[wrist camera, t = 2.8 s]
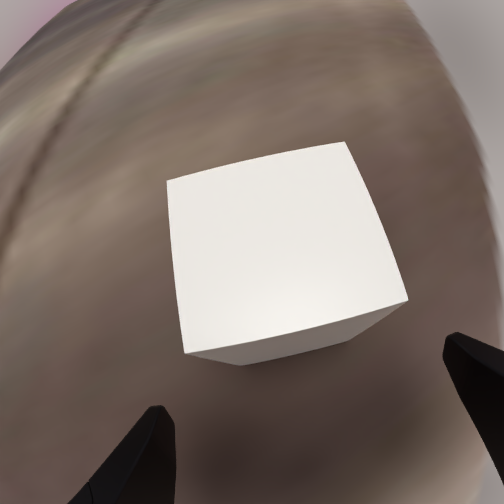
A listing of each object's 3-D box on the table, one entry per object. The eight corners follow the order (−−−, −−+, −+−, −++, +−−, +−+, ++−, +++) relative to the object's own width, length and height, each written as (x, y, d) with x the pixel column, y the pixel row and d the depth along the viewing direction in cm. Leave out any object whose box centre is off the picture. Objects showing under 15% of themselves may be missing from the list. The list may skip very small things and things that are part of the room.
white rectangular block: (347, 340, 19) (408, 300, 9) (240, 365, 19) (184, 353, 9) (322, 250, 21) (344, 141, 11) (223, 273, 22) (166, 180, 11)
